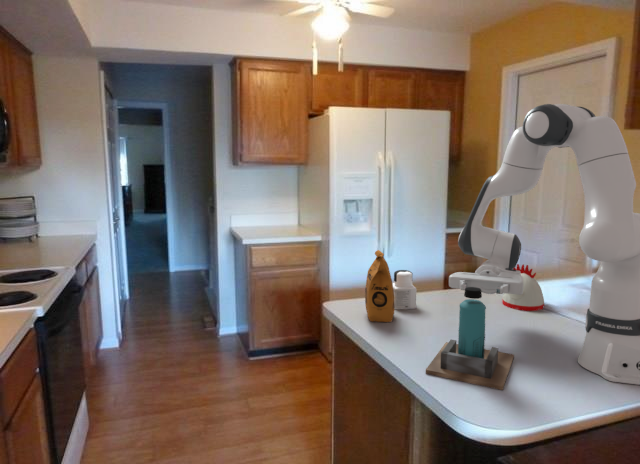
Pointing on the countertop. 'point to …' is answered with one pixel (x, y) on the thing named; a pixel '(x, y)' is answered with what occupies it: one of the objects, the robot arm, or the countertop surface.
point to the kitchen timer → (526, 293)
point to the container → (404, 290)
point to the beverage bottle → (472, 324)
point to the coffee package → (379, 291)
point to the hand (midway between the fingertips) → (480, 289)
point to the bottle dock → (472, 366)
